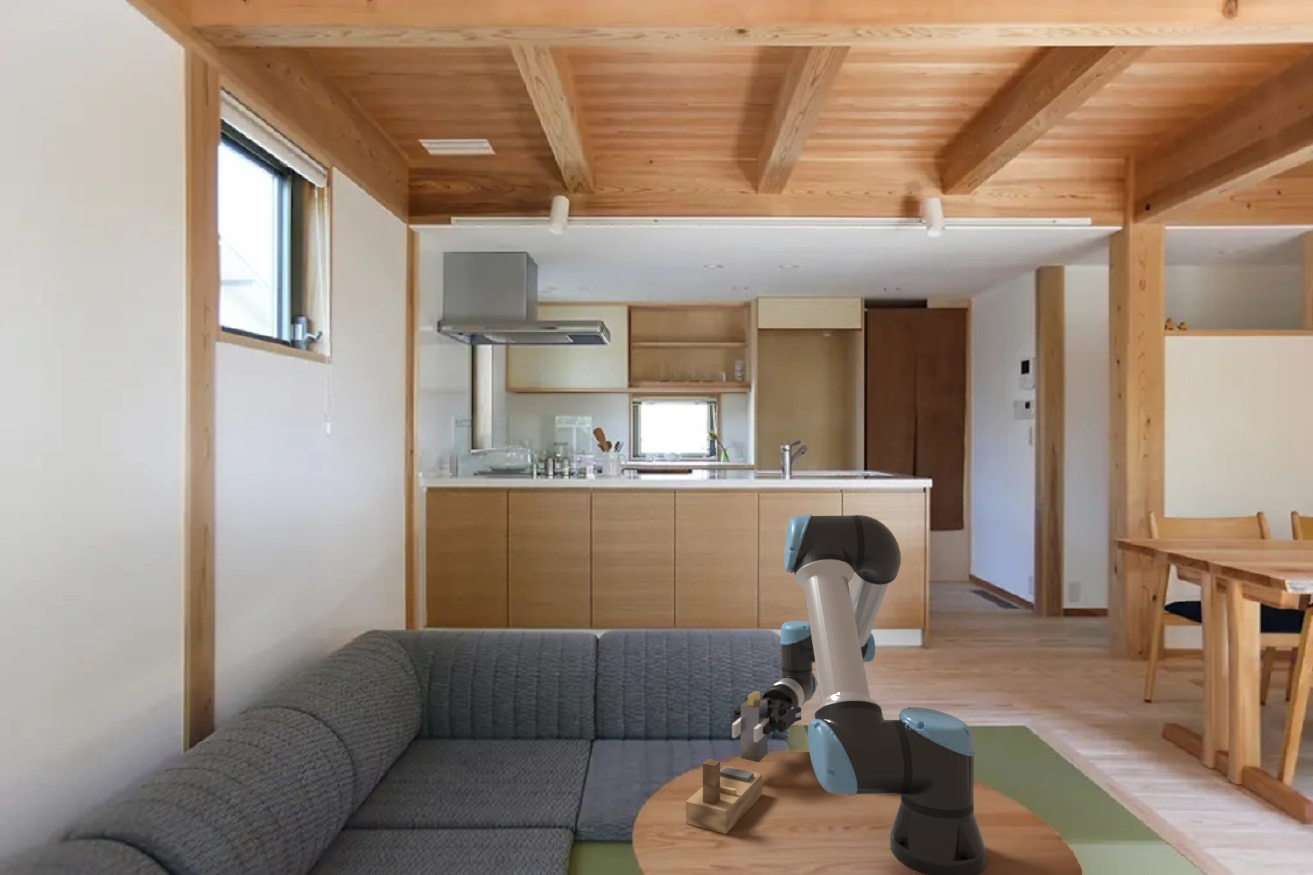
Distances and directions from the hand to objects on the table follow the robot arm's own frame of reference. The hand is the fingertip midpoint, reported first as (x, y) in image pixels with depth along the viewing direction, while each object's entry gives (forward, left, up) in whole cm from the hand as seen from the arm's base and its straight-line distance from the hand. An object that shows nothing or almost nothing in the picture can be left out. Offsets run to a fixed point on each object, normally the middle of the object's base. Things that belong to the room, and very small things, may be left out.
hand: (744, 733), depth 154 cm
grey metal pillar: (0, -5, -6) cm, 8 cm away
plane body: (0, +10, -11) cm, 15 cm away
